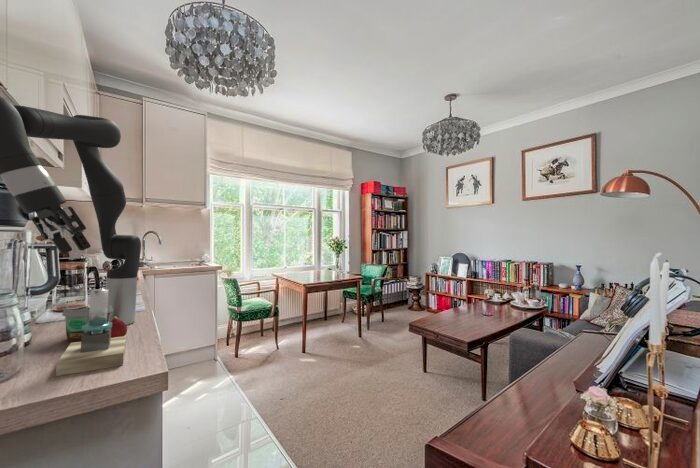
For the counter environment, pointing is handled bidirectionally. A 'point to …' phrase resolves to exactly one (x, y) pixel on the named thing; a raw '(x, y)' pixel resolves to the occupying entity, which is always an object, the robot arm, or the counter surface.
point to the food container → (77, 322)
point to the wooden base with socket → (92, 353)
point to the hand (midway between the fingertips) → (76, 250)
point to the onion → (118, 328)
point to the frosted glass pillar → (98, 312)
